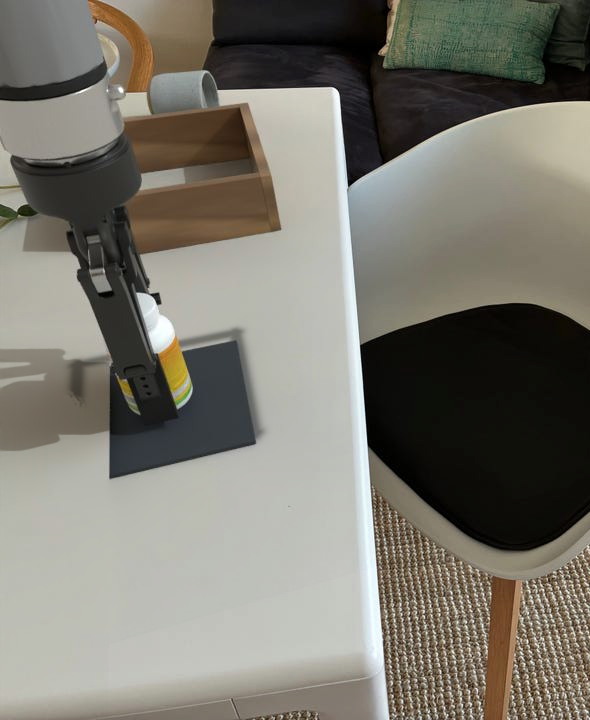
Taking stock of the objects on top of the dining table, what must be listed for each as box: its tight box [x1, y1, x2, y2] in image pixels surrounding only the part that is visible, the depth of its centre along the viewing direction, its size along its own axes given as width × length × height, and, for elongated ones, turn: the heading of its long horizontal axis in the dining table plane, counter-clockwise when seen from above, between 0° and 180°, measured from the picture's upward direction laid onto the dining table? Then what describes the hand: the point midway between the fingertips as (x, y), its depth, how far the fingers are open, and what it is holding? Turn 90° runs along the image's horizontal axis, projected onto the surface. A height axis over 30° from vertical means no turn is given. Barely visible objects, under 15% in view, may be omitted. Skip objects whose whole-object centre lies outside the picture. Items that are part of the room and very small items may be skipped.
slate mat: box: [108, 339, 257, 479], centre depth 68 cm, size 14×14×1 cm
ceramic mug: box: [146, 69, 221, 115], centre depth 108 cm, size 11×8×8 cm
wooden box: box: [122, 102, 282, 255], centre depth 93 cm, size 21×20×7 cm
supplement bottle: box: [103, 293, 192, 415], centre depth 64 cm, size 5×5×10 cm
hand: (159, 394), depth 67 cm, fingers closed on supplement bottle, 5 cm apart
